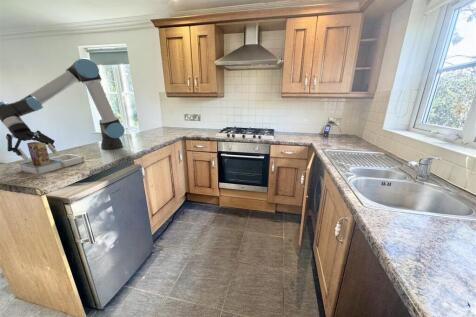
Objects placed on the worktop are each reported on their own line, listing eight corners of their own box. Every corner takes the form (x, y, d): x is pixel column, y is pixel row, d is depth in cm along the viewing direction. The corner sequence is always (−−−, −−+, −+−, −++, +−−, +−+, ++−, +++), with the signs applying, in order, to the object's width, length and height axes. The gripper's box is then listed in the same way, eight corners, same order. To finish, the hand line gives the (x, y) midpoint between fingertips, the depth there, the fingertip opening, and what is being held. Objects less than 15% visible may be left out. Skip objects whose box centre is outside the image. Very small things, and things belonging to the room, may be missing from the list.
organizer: (69, 158, 130) (68, 152, 128) (84, 161, 125) (83, 155, 124) (21, 170, 108) (19, 163, 107) (37, 174, 104) (35, 167, 102)
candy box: (52, 168, 112) (45, 143, 107) (43, 171, 108) (36, 144, 103) (43, 166, 115) (35, 141, 110) (33, 168, 111) (25, 142, 106)
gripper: (42, 128, 121) (64, 154, 121) (-18, 134, 98) (10, 166, 98) (46, 120, 117) (68, 147, 117) (-16, 124, 95) (12, 158, 95)
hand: (42, 156), depth 108 cm, fingers open, 12 cm apart
